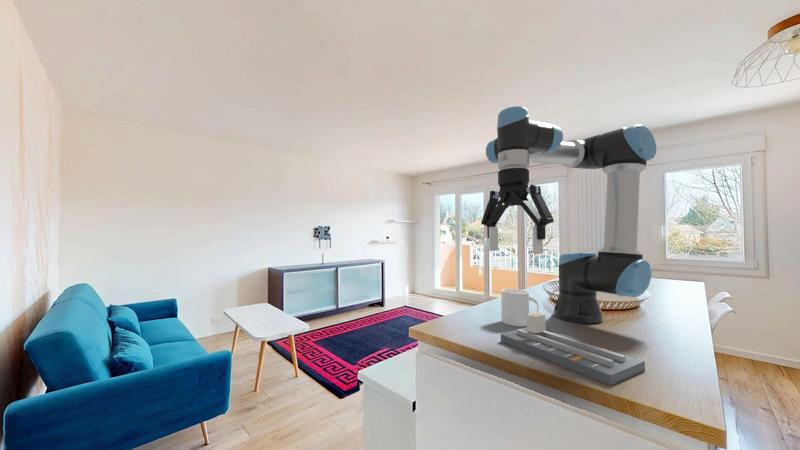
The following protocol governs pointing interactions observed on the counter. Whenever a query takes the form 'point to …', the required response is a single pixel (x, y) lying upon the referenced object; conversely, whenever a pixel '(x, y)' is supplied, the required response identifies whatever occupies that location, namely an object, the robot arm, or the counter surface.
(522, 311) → the mug
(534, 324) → the fader
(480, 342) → the counter surface
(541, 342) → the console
